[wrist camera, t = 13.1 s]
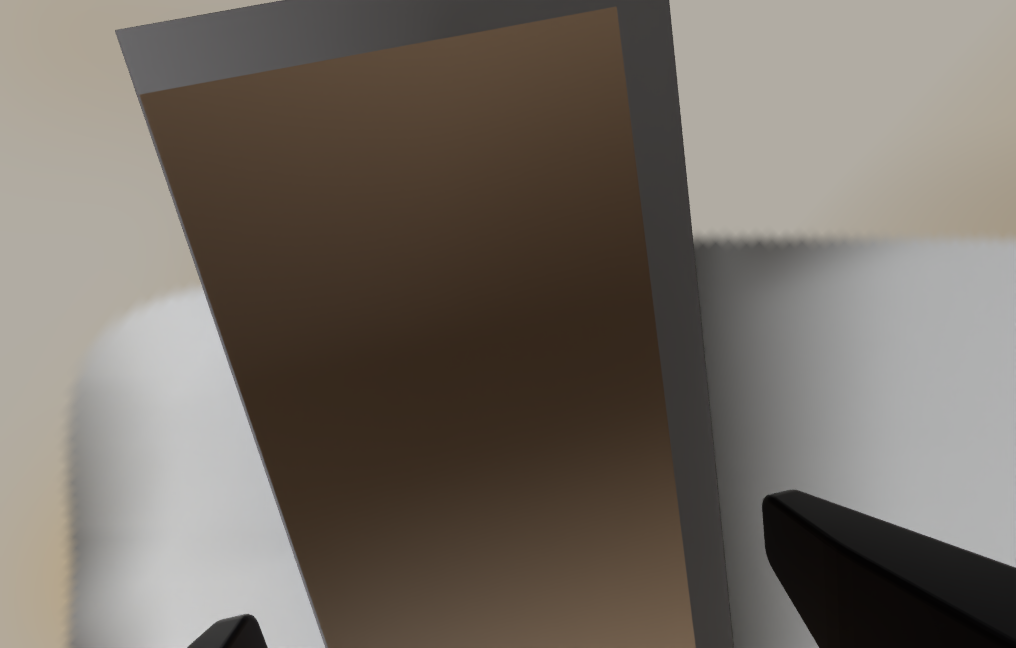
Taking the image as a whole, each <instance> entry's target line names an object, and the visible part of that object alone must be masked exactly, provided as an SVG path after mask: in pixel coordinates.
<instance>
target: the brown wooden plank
mask: <svg viewBox="0 0 1016 648" xmlns="http://www.w3.org/2000/svg"><path fill="white" fill-rule="evenodd" d="M140 98H141V101H142V104H143V107H144V110H145V113H146V116H147V119H148V122H149V125H150V128H151V130H152V133H153V136H154V139H155V142H156V145H157V148H158V151H159V154H160V157H161V160H162V163H163V166H164V169H165V171H166V174H167V177H168V180H169V183H170V186H171V189H172V192H173V195H174V198H175V201H176V204H177V207H178V210H179V213H180V215H181V218H182V221H183V224H184V227H185V230H186V233H187V236H188V239H189V242H190V245H191V248H192V251H193V254H194V256H195V259H196V262H197V265H198V268H199V271H200V274H201V277H202V280H203V283H204V286H205V289H206V292H207V295H208V298H209V300H210V303H211V306H212V309H213V312H214V315H215V318H216V321H217V324H218V327H219V330H220V333H221V336H222V339H223V341H224V344H225V347H226V350H227V353H228V356H229V359H230V362H231V365H232V368H233V371H234V374H235V377H236V380H237V383H238V385H239V388H240V391H241V394H242V397H243V400H244V403H245V406H246V409H247V412H248V415H249V418H250V421H251V424H252V426H253V429H254V432H255V435H256V438H257V441H258V444H259V447H260V450H261V453H262V456H263V459H264V462H265V465H266V467H267V470H268V473H269V476H270V479H271V482H272V485H273V488H274V491H275V494H276V497H277V500H278V503H279V506H280V509H281V511H282V514H283V517H284V520H285V523H286V526H287V529H288V532H289V535H290V538H291V541H292V544H293V547H294V550H295V552H296V555H297V558H298V561H299V564H300V567H301V570H302V573H303V576H304V579H305V582H306V585H307V588H308V591H309V594H310V596H311V599H312V602H313V605H314V608H315V611H316V614H317V617H318V620H319V623H320V626H321V629H322V632H323V635H324V637H325V640H326V643H327V646H328V648H696V646H695V638H694V630H693V622H692V614H691V605H690V597H689V589H688V581H687V573H686V565H685V557H684V549H683V541H682V532H681V524H680V516H679V508H678V500H677V492H676V484H675V476H674V468H673V460H672V451H671V443H670V435H669V427H668V419H667V411H666V403H665V395H664V387H663V378H662V370H661V362H660V354H659V346H658V338H657V330H656V322H655V314H654V306H653V297H652V289H651V281H650V273H649V265H648V257H647V249H646V241H645V233H644V224H643V216H642V208H641V200H640V192H639V184H638V176H637V168H636V160H635V151H634V143H633V135H632V127H631V119H630V111H629V103H628V95H627V87H626V79H625V70H624V62H623V54H622V46H621V38H620V30H619V22H618V14H617V7H611V8H606V9H601V10H595V11H590V12H584V13H579V14H573V15H568V16H563V17H557V18H552V19H546V20H541V21H536V22H530V23H525V24H519V25H514V26H508V27H503V28H498V29H492V30H487V31H481V32H476V33H470V34H465V35H460V36H454V37H449V38H443V39H438V40H433V41H427V42H422V43H416V44H411V45H405V46H400V47H395V48H389V49H384V50H378V51H373V52H367V53H362V54H357V55H351V56H346V57H340V58H335V59H330V60H324V61H319V62H313V63H308V64H302V65H297V66H292V67H286V68H281V69H275V70H270V71H264V72H259V73H254V74H248V75H243V76H237V77H232V78H227V79H221V80H216V81H210V82H205V83H199V84H194V85H189V86H183V87H178V88H172V89H167V90H162V91H156V92H151V93H145V94H140Z"/></svg>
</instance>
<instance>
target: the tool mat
mask: <svg viewBox="0 0 1016 648" xmlns="http://www.w3.org/2000/svg"><path fill="white" fill-rule="evenodd" d="M611 7H617V14H618V22H619V30H620V38H621V46H622V54H623V62H624V70H625V79H626V87H627V95H628V103H629V111H630V119H631V127H632V135H633V143H634V151H635V160H636V168H637V176H638V184H639V192H640V200H641V208H642V216H643V224H644V233H645V241H646V249H647V257H648V265H649V273H650V281H651V289H652V297H653V306H654V314H655V322H656V330H657V338H658V346H659V354H660V362H661V370H662V378H663V387H664V395H665V403H666V411H667V419H668V427H669V435H670V443H671V451H672V460H673V468H674V476H675V484H676V492H677V500H678V508H679V516H680V524H681V532H682V541H683V549H684V557H685V565H686V573H687V581H688V589H689V597H690V605H691V614H692V622H693V630H694V638H695V646H696V648H734V646H733V636H732V626H731V616H730V606H729V596H728V586H727V576H726V566H725V556H724V546H723V536H722V526H721V516H720V506H719V496H718V486H717V476H716V466H715V456H714V446H713V436H712V426H711V416H710V406H709V396H708V386H707V376H706V366H705V356H704V346H703V336H702V326H701V316H700V306H699V296H698V286H697V276H696V265H695V255H694V245H693V235H692V225H691V216H690V205H689V196H688V186H687V175H686V166H685V156H684V146H683V136H682V126H681V115H680V105H679V96H678V85H677V76H676V65H675V55H674V45H673V35H672V25H671V15H670V5H669V0H283V1H277V2H272V3H266V4H260V5H254V6H249V7H243V8H237V9H232V10H226V11H220V12H215V13H209V14H204V15H198V16H193V17H187V18H182V19H175V20H170V21H164V22H158V23H153V24H147V25H142V26H136V27H130V28H125V29H119V30H115V32H116V35H117V38H118V41H119V44H120V47H121V50H122V53H123V56H124V59H125V62H126V65H127V67H128V70H129V73H130V76H131V79H132V82H133V85H134V88H135V91H136V94H137V97H138V100H139V103H140V106H141V109H142V111H143V114H144V117H145V120H146V123H147V126H148V129H149V132H150V135H151V138H152V140H153V144H154V146H155V150H156V152H157V155H158V158H159V161H160V164H161V167H162V170H163V173H164V176H165V179H166V182H167V185H168V188H169V191H170V193H171V196H172V199H173V202H174V205H175V208H176V211H177V214H178V217H179V220H180V223H181V226H182V229H183V232H184V234H185V237H186V240H187V243H188V246H189V249H190V252H191V255H192V258H193V261H194V264H195V267H196V270H197V273H198V276H199V278H200V281H201V284H202V287H203V290H204V293H205V296H206V299H207V302H208V305H209V308H210V311H211V314H212V317H213V319H214V322H215V325H216V328H217V331H218V334H219V337H220V340H221V343H222V346H223V349H224V352H225V355H226V358H227V360H228V363H229V366H230V369H231V372H232V375H233V378H234V381H235V384H236V387H237V390H238V393H239V396H240V399H241V401H242V404H243V407H244V410H245V413H246V416H247V419H248V422H249V425H250V428H251V431H252V434H253V437H254V440H255V442H256V445H257V448H258V451H259V454H260V457H261V460H262V463H263V466H264V469H265V472H266V475H267V478H268V481H269V483H270V486H271V489H272V492H273V495H274V498H275V501H276V504H277V507H278V510H279V513H280V516H281V519H282V522H283V525H284V527H285V530H286V533H287V536H288V539H289V542H290V545H291V548H292V551H293V554H294V557H295V560H296V563H297V566H298V568H299V571H300V574H301V577H302V580H303V583H304V586H305V589H306V592H307V595H308V598H309V601H310V604H311V607H312V609H313V612H314V615H315V618H316V621H317V624H318V627H319V630H320V633H321V636H322V639H323V642H324V645H325V648H328V646H327V643H326V640H325V637H324V635H323V632H322V629H321V626H320V623H319V620H318V617H317V614H316V611H315V608H314V605H313V602H312V599H311V596H310V594H309V591H308V588H307V585H306V582H305V579H304V576H303V573H302V570H301V567H300V564H299V561H298V558H297V555H296V552H295V550H294V547H293V544H292V541H291V538H290V535H289V532H288V529H287V526H286V523H285V520H284V517H283V514H282V511H281V509H280V506H279V503H278V500H277V497H276V494H275V491H274V488H273V485H272V482H271V479H270V476H269V473H268V470H267V467H266V465H265V462H264V459H263V456H262V453H261V450H260V447H259V444H258V441H257V438H256V435H255V432H254V429H253V426H252V424H251V421H250V418H249V415H248V412H247V409H246V406H245V403H244V400H243V397H242V394H241V391H240V388H239V385H238V383H237V380H236V377H235V374H234V371H233V368H232V365H231V362H230V359H229V356H228V353H227V350H226V347H225V344H224V341H223V339H222V336H221V333H220V330H219V327H218V324H217V321H216V318H215V315H214V312H213V309H212V306H211V303H210V300H209V298H208V295H207V292H206V289H205V286H204V283H203V280H202V277H201V274H200V271H199V268H198V265H197V262H196V259H195V256H194V254H193V251H192V248H191V245H190V242H189V239H188V236H187V233H186V230H185V227H184V224H183V221H182V218H181V215H180V213H179V210H178V207H177V204H176V201H175V198H174V195H173V192H172V189H171V186H170V183H169V180H168V177H167V174H166V171H165V169H164V166H163V163H162V160H161V157H160V154H159V151H158V148H157V145H156V142H155V139H154V136H153V133H152V130H151V128H150V125H149V122H148V119H147V116H146V113H145V110H144V107H143V104H142V101H141V98H140V94H145V93H151V92H156V91H162V90H167V89H172V88H178V87H183V86H189V85H194V84H199V83H205V82H210V81H216V80H221V79H227V78H232V77H237V76H243V75H248V74H254V73H259V72H264V71H270V70H275V69H281V68H286V67H292V66H297V65H302V64H308V63H313V62H319V61H324V60H330V59H335V58H340V57H346V56H351V55H357V54H362V53H367V52H373V51H378V50H384V49H389V48H395V47H400V46H405V45H411V44H416V43H422V42H427V41H433V40H438V39H443V38H449V37H454V36H460V35H465V34H470V33H476V32H481V31H487V30H492V29H498V28H503V27H508V26H514V25H519V24H525V23H530V22H536V21H541V20H546V19H552V18H557V17H563V16H568V15H573V14H579V13H584V12H590V11H595V10H601V9H606V8H611Z"/></svg>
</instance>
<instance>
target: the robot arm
mask: <svg viewBox="0 0 1016 648" xmlns="http://www.w3.org/2000/svg"><path fill="white" fill-rule="evenodd" d="M762 512H763V525H764V538H765V549H766V554H767V557H768V560H769V563H770V565H771V567H772V569H773V571H774V572H775V574H776V576H777V577H778V579H779V581H780V582H781V584H782V586H783V587H784V589H785V591H786V592H787V594H788V596H789V598H790V599H791V601H792V603H793V604H794V606H795V608H796V609H797V611H798V613H799V614H800V616H801V618H802V619H803V621H804V623H805V624H806V626H807V628H808V629H809V631H810V633H811V634H812V636H813V638H814V640H815V641H816V643H817V645H818V646H819V648H1016V568H1015V567H1012V566H1009V565H1007V564H1004V563H1001V562H998V561H995V560H992V559H990V558H987V557H984V556H981V555H978V554H976V553H973V552H970V551H967V550H964V549H962V548H959V547H956V546H953V545H950V544H947V543H945V542H942V541H939V540H936V539H933V538H931V537H928V536H925V535H922V534H919V533H917V532H914V531H911V530H908V529H905V528H902V527H900V526H897V525H894V524H891V523H888V522H886V521H883V520H880V519H877V518H874V517H872V516H869V515H866V514H863V513H860V512H858V511H855V510H852V509H849V508H846V507H843V506H841V505H838V504H835V503H832V502H829V501H827V500H824V499H821V498H818V497H815V496H813V495H810V494H807V493H804V492H801V491H798V490H787V491H783V492H779V493H774V494H770V495H767V496H766V497H765V498H764V499H763V503H762ZM187 648H268V647H267V645H266V642H265V639H264V637H263V634H262V632H261V629H260V626H259V624H258V622H257V620H256V618H255V617H254V616H252V615H250V614H244V615H239V616H235V617H231V618H226V619H222V620H219V621H217V622H216V623H214V624H213V625H212V626H211V627H210V628H209V629H207V630H206V631H205V632H204V633H203V634H202V635H201V636H200V637H198V638H197V639H196V640H195V641H194V642H193V643H192V644H191V645H189V646H188V647H187Z"/></svg>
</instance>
